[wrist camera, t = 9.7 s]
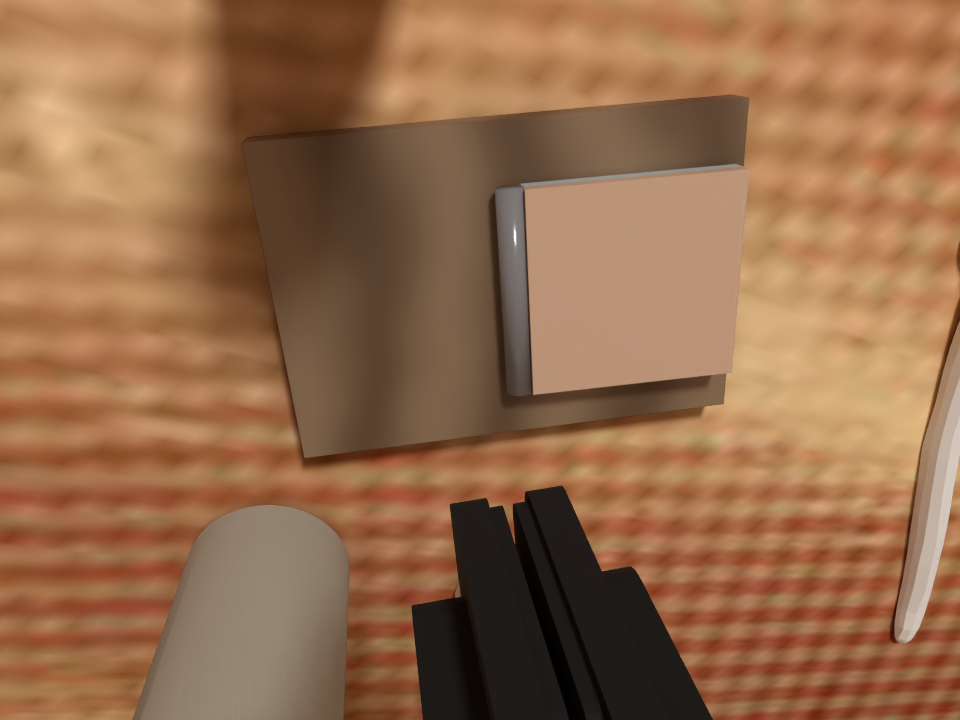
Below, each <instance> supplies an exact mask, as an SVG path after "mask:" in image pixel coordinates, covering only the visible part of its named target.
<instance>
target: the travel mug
mask: <svg viewBox="0 0 960 720" xmlns="http://www.w3.org/2000/svg"><path fill="white" fill-rule="evenodd" d="M349 572H350V564H349V557H348V554H347V551H346V548H345V546H344V544H343V542H342V540H341V539H340V538H339V536H338V535H337V534H336V533H335V531H334V530H333V529H332V528H331V527H329V526H328V525H327V524H326V523H324V522H323V521H322V520H320V519H318V518H317V517H315V516H313V515H311V514H309V513H306V512H304V511H301V510H298V509H295V508H290V507H285V506H276V505H261V506H252V507H247V508H243V509H239V510H236V511H233V512H230V513H228V514H226V515H224V516H222V517H220V518H218V519H217V520H215V521H214V522H213V523H211V524H210V525H209V526H208V527H206V528H205V529H204V530H203V531H202V533H201V534H200V535H199V536H198V538H197V539H196V541H195V542H194V544H193V546H192V548H191V551H190V554H189V557H188V560H187V562H186V565H185V568H184V571H183V574H182V577H181V580H180V583H179V586H178V589H177V591H176V594H175V597H174V600H173V603H172V606H171V609H170V612H169V615H168V618H167V621H166V623H165V626H164V629H163V632H162V635H161V638H160V641H159V644H158V647H157V650H156V652H155V655H154V658H153V661H152V664H151V667H150V670H149V673H148V676H147V679H146V682H145V684H144V687H143V690H142V693H141V696H140V699H139V702H138V705H137V708H136V711H135V714H134V716H133V719H132V720H344V695H345V671H346V646H347V621H348V597H349Z"/></svg>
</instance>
